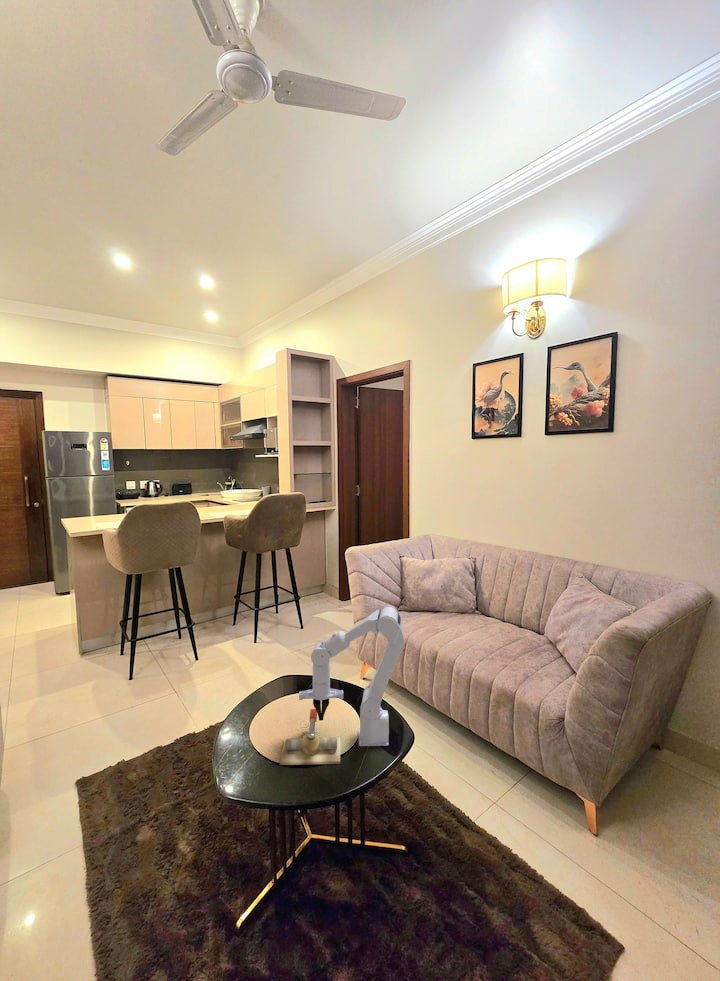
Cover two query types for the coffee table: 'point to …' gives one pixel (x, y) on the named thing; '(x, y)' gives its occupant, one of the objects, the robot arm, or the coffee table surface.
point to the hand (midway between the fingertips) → (321, 718)
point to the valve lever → (312, 723)
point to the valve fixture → (310, 751)
